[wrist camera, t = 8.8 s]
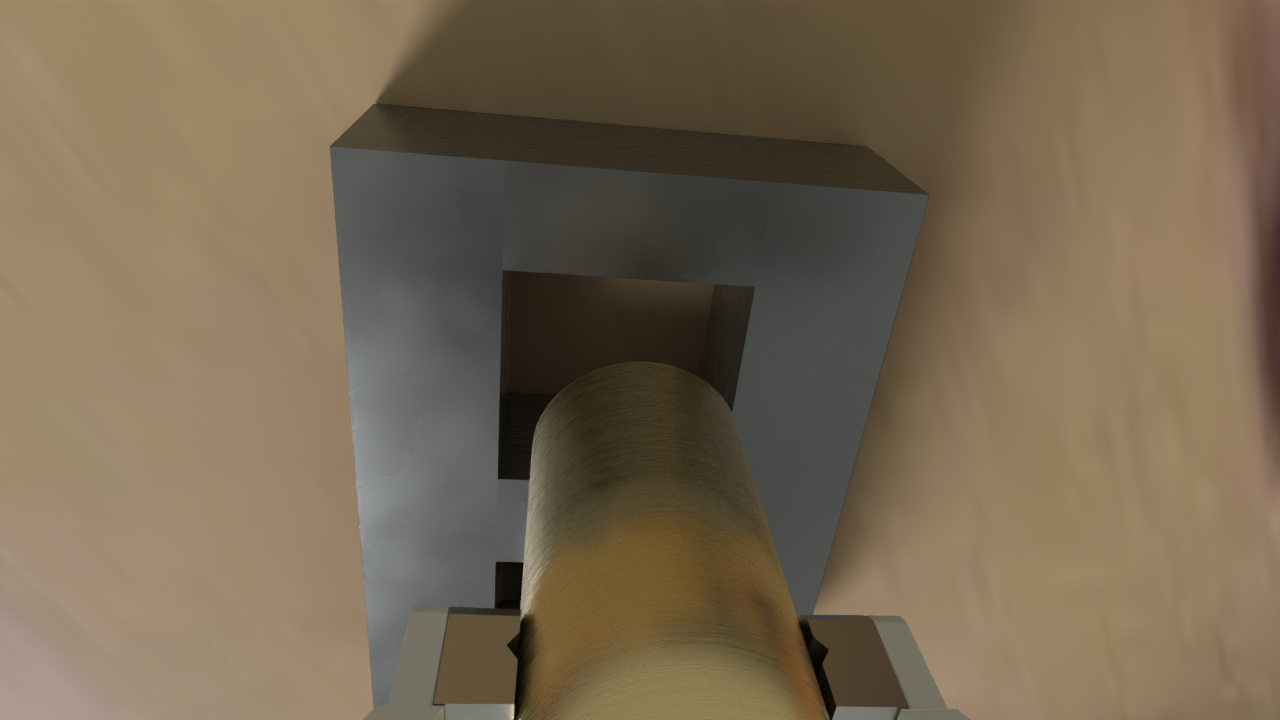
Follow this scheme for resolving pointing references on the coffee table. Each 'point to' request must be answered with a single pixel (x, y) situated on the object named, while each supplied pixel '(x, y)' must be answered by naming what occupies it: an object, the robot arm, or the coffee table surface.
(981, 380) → the coffee table surface
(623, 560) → the bushing
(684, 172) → the jig
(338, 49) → the coffee table surface
